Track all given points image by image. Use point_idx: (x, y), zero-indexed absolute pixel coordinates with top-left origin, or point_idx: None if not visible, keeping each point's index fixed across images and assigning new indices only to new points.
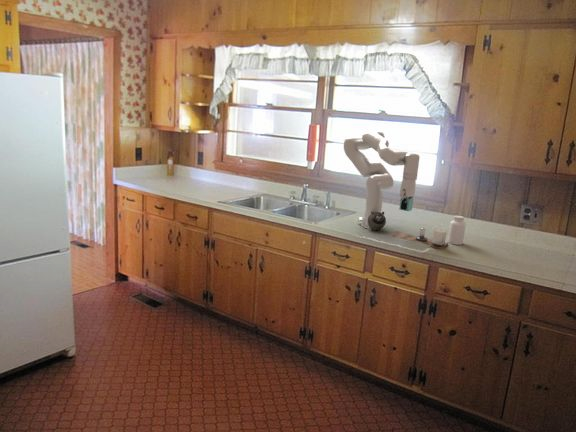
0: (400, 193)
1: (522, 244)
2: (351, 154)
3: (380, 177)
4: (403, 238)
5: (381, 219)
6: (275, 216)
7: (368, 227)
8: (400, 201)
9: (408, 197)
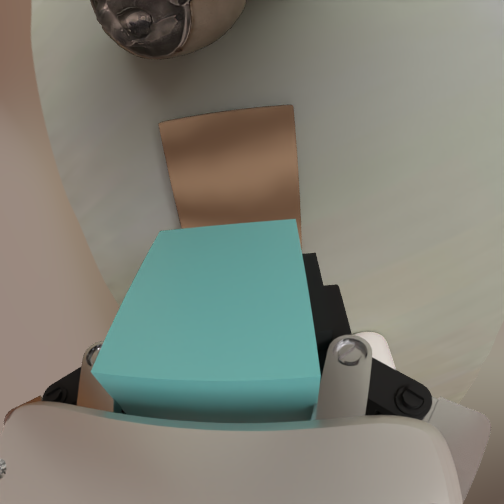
0: (3, 452)
1: (457, 402)
2: None
3: None
4: (182, 217)
5: (127, 44)
6: None
7: None
8: (116, 317)
9: (363, 399)
